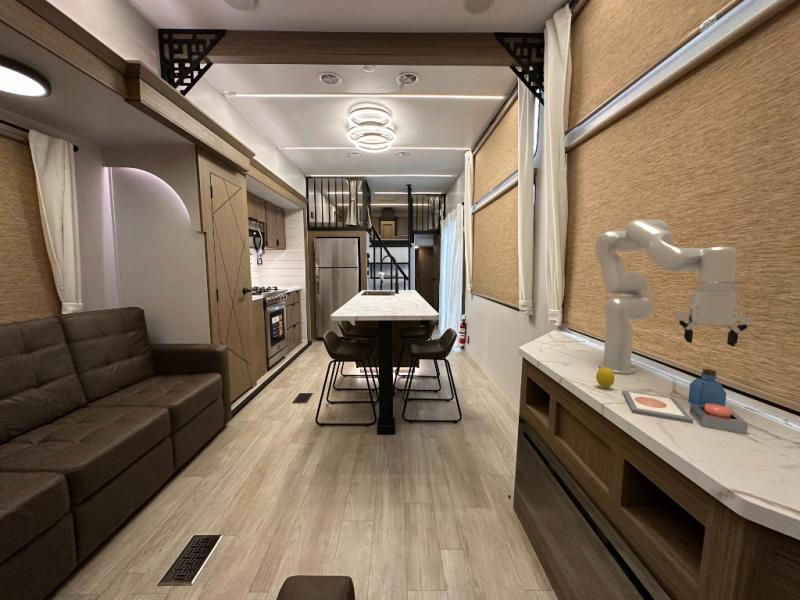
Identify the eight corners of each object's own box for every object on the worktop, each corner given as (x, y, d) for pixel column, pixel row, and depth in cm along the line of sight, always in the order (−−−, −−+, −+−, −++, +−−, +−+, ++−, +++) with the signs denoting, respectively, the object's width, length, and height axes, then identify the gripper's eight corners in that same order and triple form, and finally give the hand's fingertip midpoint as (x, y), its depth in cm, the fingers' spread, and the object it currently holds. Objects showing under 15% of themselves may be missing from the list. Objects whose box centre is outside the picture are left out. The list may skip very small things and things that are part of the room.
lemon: (616, 391, 110) (618, 369, 110) (599, 390, 112) (600, 368, 111) (609, 385, 116) (611, 364, 115) (593, 384, 117) (594, 364, 116)
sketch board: (622, 392, 109) (622, 389, 109) (673, 400, 103) (674, 397, 103) (632, 412, 94) (632, 408, 94) (693, 423, 88) (693, 419, 88)
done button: (701, 410, 91) (702, 401, 91) (725, 414, 89) (726, 405, 89) (708, 417, 87) (709, 409, 87) (734, 422, 84) (735, 413, 84)
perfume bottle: (697, 409, 96) (701, 372, 95) (688, 401, 102) (691, 366, 101) (724, 413, 94) (728, 374, 93) (712, 405, 100) (716, 368, 99)
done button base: (689, 412, 94) (690, 403, 94) (730, 419, 90) (731, 409, 90) (701, 426, 86) (702, 415, 86) (746, 434, 82) (748, 423, 82)
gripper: (748, 288, 94) (742, 344, 95) (674, 286, 102) (669, 338, 103) (762, 289, 87) (755, 349, 89) (681, 288, 95) (676, 342, 97)
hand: (709, 343), depth 96 cm, fingers open, 9 cm apart
